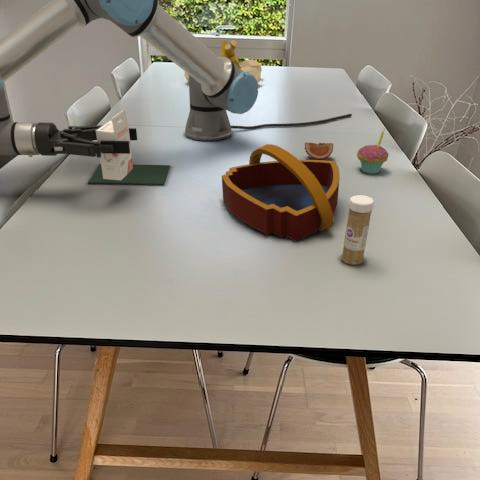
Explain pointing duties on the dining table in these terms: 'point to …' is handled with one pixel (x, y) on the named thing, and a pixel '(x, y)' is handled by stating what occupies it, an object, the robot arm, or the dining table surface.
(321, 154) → the fruit slice
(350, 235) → the sprinkles bottle
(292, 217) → the decorative basket
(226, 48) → the campfire
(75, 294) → the dining table surface
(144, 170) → the mat
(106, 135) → the ink cartridge box
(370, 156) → the cupcake
